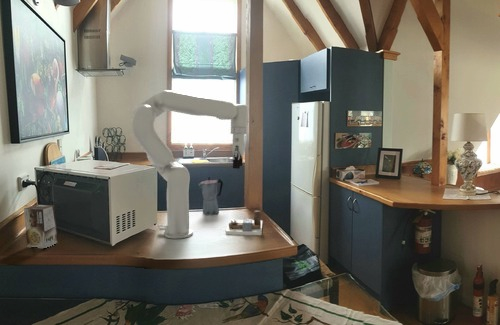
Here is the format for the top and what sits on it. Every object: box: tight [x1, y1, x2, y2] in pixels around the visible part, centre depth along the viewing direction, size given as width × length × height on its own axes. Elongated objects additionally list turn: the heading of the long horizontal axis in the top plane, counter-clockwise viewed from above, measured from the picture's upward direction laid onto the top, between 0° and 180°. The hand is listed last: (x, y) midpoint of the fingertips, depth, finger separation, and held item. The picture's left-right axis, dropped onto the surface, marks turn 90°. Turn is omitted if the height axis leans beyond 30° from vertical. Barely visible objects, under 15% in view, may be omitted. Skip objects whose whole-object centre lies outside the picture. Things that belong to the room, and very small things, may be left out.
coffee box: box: [23, 204, 58, 249], centre depth 138 cm, size 9×6×16 cm
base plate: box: [225, 219, 263, 236], centre depth 162 cm, size 16×18×2 cm
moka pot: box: [198, 176, 224, 215], centre depth 189 cm, size 10×15×20 cm, turn 133°
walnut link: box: [228, 210, 262, 228], centre depth 158 cm, size 15×4×8 cm, turn 87°
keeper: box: [230, 218, 253, 231], centre depth 157 cm, size 10×6×4 cm, turn 86°
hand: (237, 167), depth 163 cm, fingers open, 9 cm apart
